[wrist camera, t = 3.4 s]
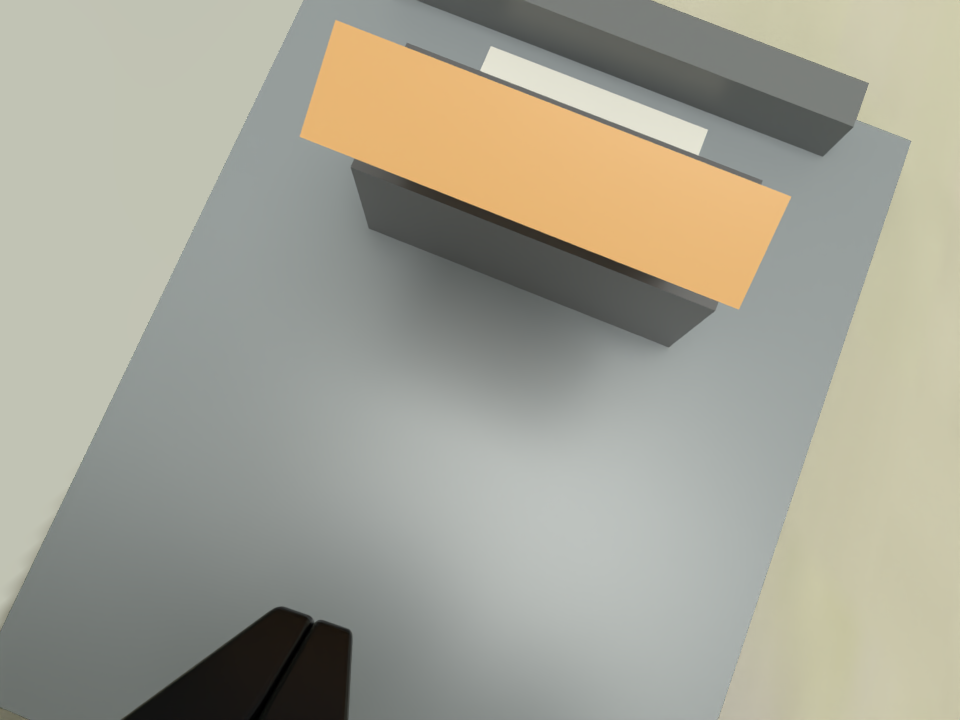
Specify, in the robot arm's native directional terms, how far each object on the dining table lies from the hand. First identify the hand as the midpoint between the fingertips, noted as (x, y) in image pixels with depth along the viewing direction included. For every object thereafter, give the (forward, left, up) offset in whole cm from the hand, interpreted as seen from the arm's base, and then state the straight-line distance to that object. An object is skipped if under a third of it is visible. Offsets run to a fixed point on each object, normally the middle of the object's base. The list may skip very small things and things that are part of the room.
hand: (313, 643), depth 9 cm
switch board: (+3, -4, -13) cm, 14 cm away
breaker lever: (+6, -7, -7) cm, 11 cm away
